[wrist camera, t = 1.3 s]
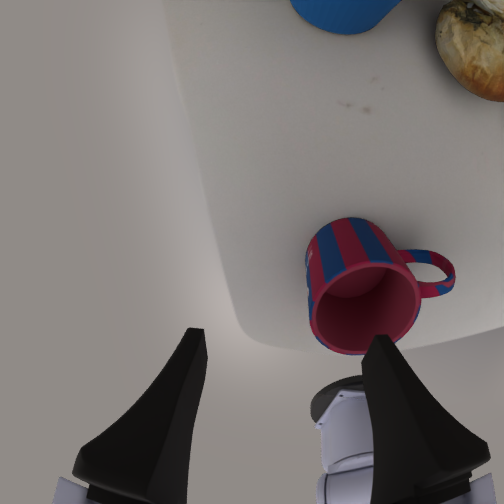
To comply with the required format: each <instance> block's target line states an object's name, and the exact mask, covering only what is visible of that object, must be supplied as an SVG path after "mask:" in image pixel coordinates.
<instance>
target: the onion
mask: <svg viewBox="0 0 504 504" xmlns="http://www.w3.org/2000/svg"><path fill="white" fill-rule="evenodd" d="M435 38H436V45H437V49H438V52H439V54H440V56H441V58H442V60H443V61H444V63H445V65H446V66H447V68H448V70H449V71H450V72H451V74H452V75H453V76H454V77H455V78H456V80H457V81H458V82H459V83H460V84H461V85H462V86H463V87H465V88H466V89H467V90H469V91H470V92H472V93H474V94H475V95H477V96H479V97H481V98H484V99H486V100H490V101H497V102H504V0H453V1H451V2H450V3H448V4H446V5H444V6H443V8H442V10H441V12H440V14H439V17H438V20H437V25H436V32H435Z"/></svg>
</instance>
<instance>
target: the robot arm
mask: <svg viewBox="0 0 504 504" xmlns="http://www.w3.org/2000/svg"><path fill="white" fill-rule="evenodd" d="M207 359H208V356H207V349H206V342H205V334H204V329H199V328H188V329H187V330H186V332H185V334H184V336H183V338H182V339H181V342H180V343H179V345H178V346H177V348H176V350H175V351H174V353H173V354H172V356H171V357H170V359H169V360H168V362H167V363H166V365H165V367H164V368H163V369H162V371H161V372H160V374H159V375H158V376H157V377H156V379H155V380H154V381H153V383H152V384H151V385H150V386H149V388H148V389H147V390H146V391H145V392H144V394H143V395H142V396H141V397H140V398H139V399H138V400H137V401H136V403H135V404H134V405H133V406H132V407H131V408H130V409H129V410H128V411H127V412H126V413H125V414H124V415H122V417H120V418H119V419H118V420H117V421H116V422H115V423H113V424H112V425H111V426H110V427H109V428H107V429H106V430H105V431H104V432H102V433H101V434H100V435H99V436H97V437H96V438H94V439H93V440H91V441H90V442H88V443H87V444H86V445H84V446H83V447H82V448H81V449H80V451H79V453H78V455H77V458H76V461H75V464H74V468H73V471H72V474H73V475H74V476H75V477H77V478H79V479H80V480H82V481H85V482H87V483H89V484H90V485H89V489H88V488H86V487H83V486H81V485H78V484H76V483H74V482H71V481H69V480H67V479H65V478H63V477H59V479H58V483H57V487H56V491H55V494H54V499H53V503H52V504H187V485H188V470H189V460H190V451H191V442H192V434H193V427H194V422H195V418H196V414H197V410H198V406H199V402H200V398H201V394H202V390H203V385H204V381H205V375H206V368H207ZM361 364H362V376H363V385H364V390H365V391H358V390H349V389H341V390H340V391H339V392H338V393H337V395H336V396H335V398H334V399H333V401H332V402H331V403H330V405H329V406H328V408H327V409H326V411H325V412H324V413H323V415H322V416H321V417H320V419H319V420H318V421H317V423H316V424H315V428H316V429H321V461H322V466H323V468H324V469H325V471H326V472H327V473H324V474H322V476H321V477H320V478H319V480H318V482H317V487H316V502H317V504H496V497H495V491H494V485H493V480H492V474H491V473H489V474H487V475H485V476H482V477H481V478H478V479H476V480H474V481H472V482H470V483H469V478H470V477H472V473H471V471H472V470H474V469H476V468H477V467H479V466H481V465H483V464H484V463H486V462H487V461H489V460H490V458H491V457H490V452H489V449H488V445H487V442H485V441H484V440H482V439H481V438H479V437H478V436H476V435H475V434H473V433H472V432H471V431H469V430H468V429H467V428H465V427H464V426H463V425H462V424H460V423H459V422H458V421H457V420H456V419H455V418H454V417H453V416H452V415H450V414H449V413H448V412H447V411H446V410H445V409H444V408H443V407H442V406H441V405H440V403H439V402H438V401H437V400H436V399H435V398H434V397H433V396H432V395H431V394H430V392H429V391H428V390H427V389H426V387H425V386H424V385H423V383H422V382H421V381H420V380H419V378H418V377H417V375H416V374H415V373H414V371H413V370H412V368H411V367H410V366H409V364H408V363H407V361H406V360H405V359H404V357H403V356H402V354H401V353H400V351H399V350H398V348H397V347H396V345H395V344H394V342H393V341H392V340H391V338H390V337H389V335H388V334H378V335H375V336H374V338H373V340H372V342H371V344H370V346H369V348H368V350H367V352H366V354H365V356H364V358H363V360H362V362H361Z"/></svg>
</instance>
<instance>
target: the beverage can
mask: <svg viewBox="0 0 504 504" xmlns="http://www.w3.org/2000/svg"><path fill="white" fill-rule="evenodd" d="M290 1H291V3H292V5H293V7H294V8H295V10H296V11H297V12H298V13H299V15H300V16H302V17H303V18H304V19H305V20H306V21H308V22H309V23H311V24H312V25H314V26H316V27H318V28H320V29H322V30H325V31H328V32H332V33H337V34H357V33H362V32H365V31H367V30H370V29H371V28H373V27H374V26H375V25H377V24H378V23H379V22H380V21H381V20H382V19H383V18H384V17H385V16H386V15H387V14H388V13H389V12H390V11H391V10H392V9H393V8H394V7H395V6H396V5H397V4H398V3H399V2H400V1H401V0H290Z"/></svg>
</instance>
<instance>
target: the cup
mask: <svg viewBox="0 0 504 504" xmlns="http://www.w3.org/2000/svg"><path fill="white" fill-rule="evenodd" d="M412 262H418V263H427V264H432V265H435V266H437V267H439V268H440V269H441V270H442V271H443V272H444V273H445V274H446V275H447V278H446V279H445V280H443V281H439V282H421V281H417V280H416V279H415V277H414V275H413V274H412V272H411V271H410V269H409V268H408V266H407V265H406V263H412ZM305 265H306V278H307V291H308V306H309V320H310V326H311V329H312V332H313V334H314V335H315V337H316V339H317V340H318V341H319V342H320V343H321V344H322V345H324V346H325V347H327V348H328V349H330V350H332V351H334V352H337V353H341V354H345V355H365V354H366V352H367V350H368V348H369V346H370V344H371V342H372V340H373V338H374V336H375V335H378V334H388V335H389V337H390V338H391V340H392V341H393V342H394V343H396V342H397V341H398V340H400V339H401V338H402V337H403V336H404V335H405V334H406V333H407V332H408V331H409V330H410V328H411V327H412V326H413V324H414V322H415V321H416V319H417V317H418V314H419V311H420V307H421V298H430V297H436V296H441V295H443V294H446V293H448V292H449V291H451V290H452V288H453V287H454V283H455V278H456V276H455V269H454V267H453V265H452V263H451V262H450V261H449V260H448V259H446V258H445V257H444V256H442V255H440V254H438V253H436V252H433V251H428V250H417V249H410V250H396V249H395V247H394V246H393V245H392V243H391V242H390V240H389V239H388V238H387V236H386V235H385V234H384V232H383V231H382V230H381V229H380V228H379V227H378V226H376V225H375V224H374V223H372V222H370V221H367V220H365V219H361V218H342V219H339V220H336V221H333V222H331V223H329V224H327V225H326V226H324V227H323V228H322V229H320V230H319V231H318V232H317V233H316V234H315V236H314V237H313V239H312V240H311V242H310V244H309V246H308V248H307V252H306V259H305Z"/></svg>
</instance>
